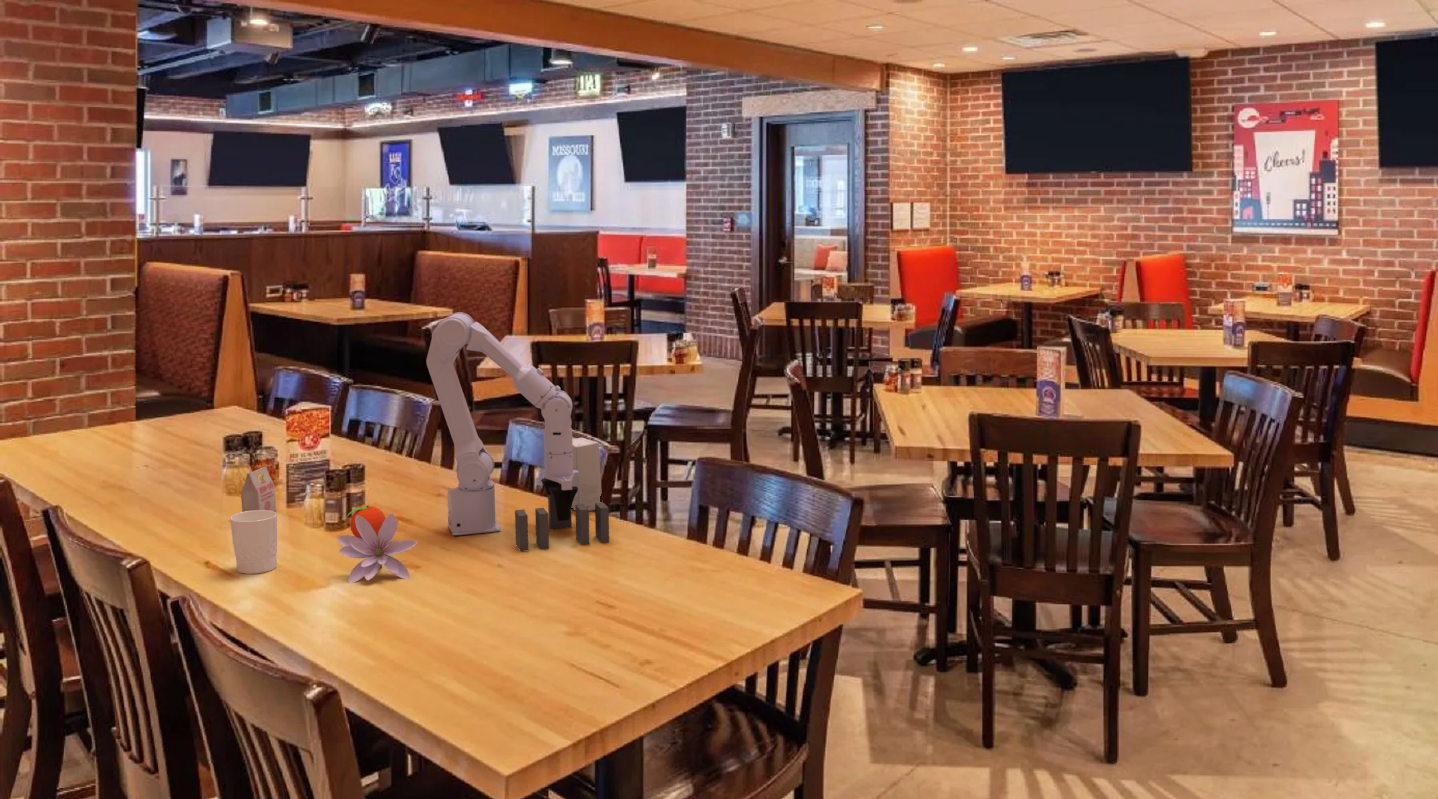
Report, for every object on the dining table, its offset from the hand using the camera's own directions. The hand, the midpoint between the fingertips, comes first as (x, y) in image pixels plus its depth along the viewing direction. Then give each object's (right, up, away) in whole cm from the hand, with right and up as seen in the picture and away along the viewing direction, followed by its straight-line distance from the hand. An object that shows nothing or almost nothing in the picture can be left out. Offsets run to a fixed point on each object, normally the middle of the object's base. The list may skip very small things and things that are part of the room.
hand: (559, 516), depth 241 cm
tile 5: (+10, -4, -8) cm, 13 cm away
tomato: (-37, -4, -9) cm, 38 cm away
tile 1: (-5, -5, -13) cm, 15 cm away
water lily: (-29, -8, -30) cm, 43 cm away
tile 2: (-2, -5, -12) cm, 13 cm away
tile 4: (+6, -4, -9) cm, 11 cm away
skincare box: (+3, 0, +16) cm, 16 cm away
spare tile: (0, -2, 0) cm, 2 cm away
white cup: (-52, -7, -26) cm, 58 cm away
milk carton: (-65, -1, +9) cm, 66 cm away
